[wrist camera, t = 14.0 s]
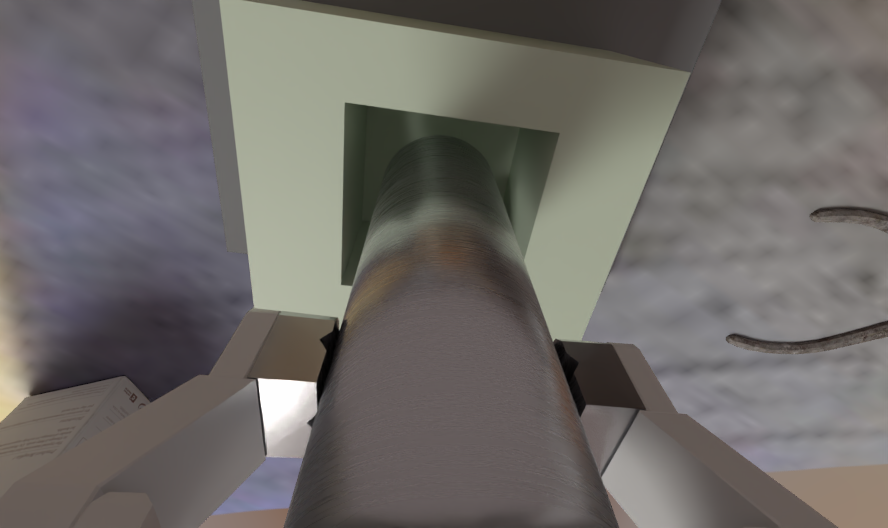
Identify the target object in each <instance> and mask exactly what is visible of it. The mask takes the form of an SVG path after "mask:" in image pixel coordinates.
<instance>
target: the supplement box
mask: <svg viewBox="0 0 888 528" xmlns="http://www.w3.org/2000/svg"><path fill="white" fill-rule="evenodd" d="M150 403H151V402H150V401H149V400H148V399H147V398H146V397H145V396H144V395H143V394H142V392H141V391H140V390H139V389H138V388H137V387H136V386H135V385H134V384H133V383H132V382H131V381H130V380H129V379H128V378H127V377H126V376H121V377H116V378H112V379H108V380H103V381H99V382H94V383H90V384H85V385H81V386H76V387H72V388H67V389H62V390H58V391H53V392H49V393H44V394H40V395H35V396H30V397H26V398H25V399H24V400H23V401H22V402H21V403H20V404H19V405H18V406H17V407H16V408H15V409H14V410H13V411H12V412H11V413H10V414H9V415H8V416H7V417H6V418H5V419H4V420H3V421H2V422H1V423H0V498H1V497H2V496H3V495H4V494H5V493H6V491H7V490H8V489H9V488H10V487H11V486H12V485H13V483H14V482H16V481H18V480H19V479H21V478H23V477H24V476H26V475H28V474H30V473H31V472H33V471H35V470H36V469H38V468H40V467H42V466H43V465H45V464H47V463H48V462H50V461H52V460H54V459H55V458H57V457H59V456H60V455H62V454H64V453H66V452H67V451H69V450H71V449H72V448H74V447H76V446H78V445H79V444H81V443H83V442H84V441H86V440H88V439H90V438H91V437H93V436H95V435H96V434H98V433H100V432H102V431H103V430H105V429H107V428H108V427H110V426H112V425H114V424H115V423H117V422H119V421H120V420H122V419H124V418H126V417H127V416H129V415H131V414H132V413H134V412H136V411H138V410H139V409H141V408H143V407H144V406H146V405H148V404H150Z"/></svg>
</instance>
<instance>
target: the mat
mask: <svg viewBox="0 0 888 528" xmlns="http://www.w3.org/2000/svg"><path fill="white" fill-rule="evenodd" d="M302 1H308V2H314V3H320V4H326V5H332V6H339V7H345V8H351V9H357V10H363V11H369V12H375V13H381V14H387V15H394V16H400V17H406V18H412V19H418V20H424V21H430V22H436V23H443V24H449V25H455V26H461V27H467V28H473V29H479V30H485V31H491V32H498V33H504V34H510V35H516V36H522V37H528V38H534V39H540V40H547V41H553V42H559V43H565V44H571V45H577V46H583V47H589V48H595V49H602V50H608V51H612V52H616V53H620V54H624V55H627V56H631V57H635V58H638V59H642V60H646V61H649V62H653V63H657V64H661V65H664V66H668V67H672V68H675V69H679V70H683V71H687V72H690V73H691V74H692V72H693V69H694V67H695V64H696V62H697V59H698V57H699V55H700V52H701V50H702V47H703V45H704V42H705V40H706V38H707V35H708V33H709V30H710V28H711V25H712V23H713V21H714V18H715V16H716V13H717V11H718V8H719V6H720V4H721V1H722V0H302ZM192 7H193V14H194V21H195V28H196V35H197V42H198V49H199V56H200V63H201V70H202V77H203V84H204V91H205V98H206V105H207V112H208V119H209V126H210V133H211V141H212V148H213V155H214V162H215V169H216V176H217V183H218V190H219V197H220V204H221V211H222V218H223V225H224V232H225V239H226V246H227V252H236V253H245V254H248V249H247V240H246V232H245V223H244V214H243V205H242V196H241V188H240V179H239V170H238V161H237V152H236V144H235V135H234V126H233V117H232V108H231V99H230V91H229V82H228V73H227V64H226V55H225V47H224V38H223V29H222V20H221V11H220V3H219V0H192ZM691 74H690V76H691ZM690 76H689V79H690ZM689 79H688V81H689ZM688 81H687V83H686V86H687V84H688ZM686 86H685V88H684V91H685V89H686ZM684 91H683V93H684ZM683 93H682V96H683ZM682 96H681V98H682ZM681 98H680V100H679V103H680V101H681ZM679 103H678V105H677V108H678V106H679ZM677 108H676V110H677ZM676 110H675V113H676ZM675 113H674V115H675ZM674 115H673V118H674ZM673 118H672V120H673ZM672 120H671V122H670V125H671V123H672ZM670 125H669V127H670ZM669 127H668V130H669ZM668 130H667V132H668ZM667 132H666V135H667ZM666 135H665V137H666ZM665 137H664V139H663V142H664V140H665ZM663 142H662V144H663ZM662 144H661V147H662ZM661 147H660V149H661ZM660 149H659V152H660ZM659 152H658V154H659ZM658 154H657V156H656V159H657V157H658ZM656 159H655V161H656ZM655 161H654V164H655ZM654 164H653V166H654ZM653 166H652V169H653ZM652 169H651V171H652ZM651 171H650V174H651ZM650 174H649V176H650ZM649 176H648V178H649ZM648 178H647V181H648ZM647 181H646V183H647ZM646 183H645V186H646ZM645 186H644V188H645ZM644 188H643V191H644ZM643 191H642V193H643ZM642 193H641V195H642ZM641 195H640V198H641ZM640 198H639V200H640ZM639 200H638V203H639ZM638 203H637V205H638ZM637 205H636V208H637ZM636 208H635V210H636ZM635 210H634V212H635ZM633 215H634V213H633ZM633 215H632V217H633ZM632 217H631V220H632ZM631 220H630V222H631ZM630 222H629V225H630ZM629 225H628V227H629ZM628 227H627V229H628ZM626 232H627V230H626ZM626 232H625V234H626ZM625 234H624V237H625ZM624 237H623V239H624ZM623 239H622V242H623ZM622 242H621V244H622ZM621 244H620V246H621ZM619 249H620V247H619ZM619 249H618V251H619ZM618 251H617V254H618ZM617 254H616V256H617ZM616 256H615V259H616ZM615 259H614V261H615ZM614 261H613V263H614ZM612 266H613V264H612ZM612 266H611V268H612ZM610 271H611V269H610ZM610 271H609V273H610ZM609 273H608V276H609ZM608 276H607V278H608ZM607 278H606V280H607ZM605 283H606V281H605ZM605 283H604V285H605ZM603 288H604V286H603ZM603 288H602V290H603ZM602 290H601V292H602Z"/></svg>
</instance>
